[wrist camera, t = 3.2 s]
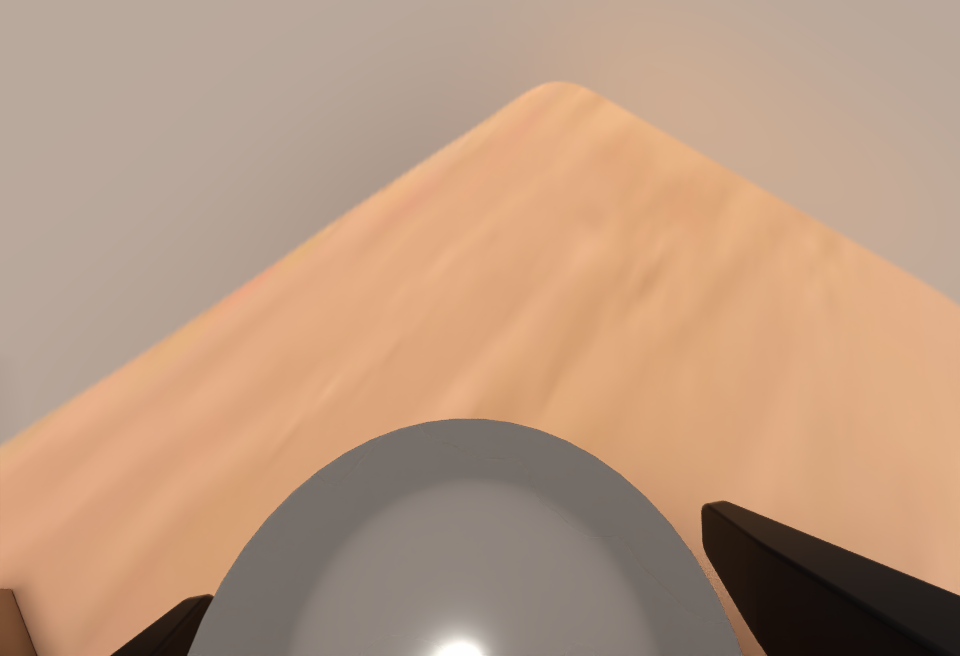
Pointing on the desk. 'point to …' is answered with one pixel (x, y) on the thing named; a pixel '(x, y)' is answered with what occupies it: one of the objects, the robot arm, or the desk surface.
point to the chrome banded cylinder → (466, 558)
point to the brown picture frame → (12, 628)
